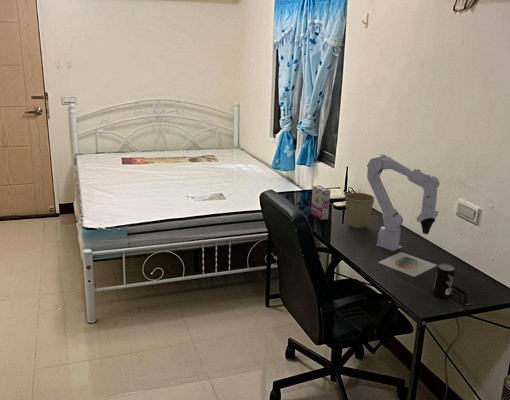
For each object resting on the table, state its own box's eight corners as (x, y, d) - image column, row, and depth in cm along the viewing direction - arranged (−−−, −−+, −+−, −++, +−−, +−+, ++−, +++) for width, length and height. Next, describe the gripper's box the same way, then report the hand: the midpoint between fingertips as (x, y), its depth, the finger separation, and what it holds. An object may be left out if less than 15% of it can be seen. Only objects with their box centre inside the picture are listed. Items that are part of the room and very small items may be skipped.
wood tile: (405, 259, 220) (395, 264, 215) (405, 256, 220) (395, 260, 215) (417, 264, 216) (407, 269, 211) (418, 260, 215) (407, 265, 210)
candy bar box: (329, 219, 270) (331, 190, 265) (321, 220, 268) (323, 191, 263) (318, 212, 279) (319, 184, 274) (310, 214, 277) (312, 185, 272)
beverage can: (439, 300, 186) (444, 271, 183) (429, 292, 192) (433, 264, 189) (454, 298, 188) (459, 269, 184) (444, 290, 194) (448, 262, 190)
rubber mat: (377, 263, 217) (377, 262, 217) (401, 252, 228) (401, 251, 228) (414, 277, 204) (414, 276, 204) (437, 266, 215) (437, 265, 215)
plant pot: (374, 231, 254) (377, 201, 249) (345, 230, 254) (347, 200, 250) (368, 221, 268) (371, 192, 264) (340, 220, 269) (343, 191, 264)
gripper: (428, 210, 212) (424, 239, 216) (445, 203, 221) (442, 232, 225) (413, 206, 217) (410, 235, 221) (431, 199, 226) (428, 228, 230)
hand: (425, 233), depth 224 cm, fingers closed
